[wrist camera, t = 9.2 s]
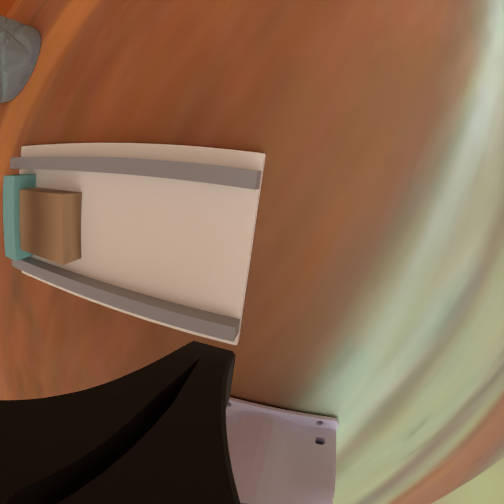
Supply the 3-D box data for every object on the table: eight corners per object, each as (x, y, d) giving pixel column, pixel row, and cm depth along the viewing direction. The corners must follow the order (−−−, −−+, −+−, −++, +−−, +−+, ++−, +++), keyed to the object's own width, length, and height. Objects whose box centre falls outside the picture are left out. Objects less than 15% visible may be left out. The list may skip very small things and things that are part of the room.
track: (265, 154, 16) (255, 149, 14) (238, 341, 20) (226, 366, 17) (25, 146, 20) (1, 146, 17) (25, 271, 23) (3, 280, 20)
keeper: (82, 192, 19) (63, 194, 17) (81, 258, 20) (64, 265, 18) (36, 187, 20) (19, 189, 18) (36, 244, 21) (20, 249, 19)
